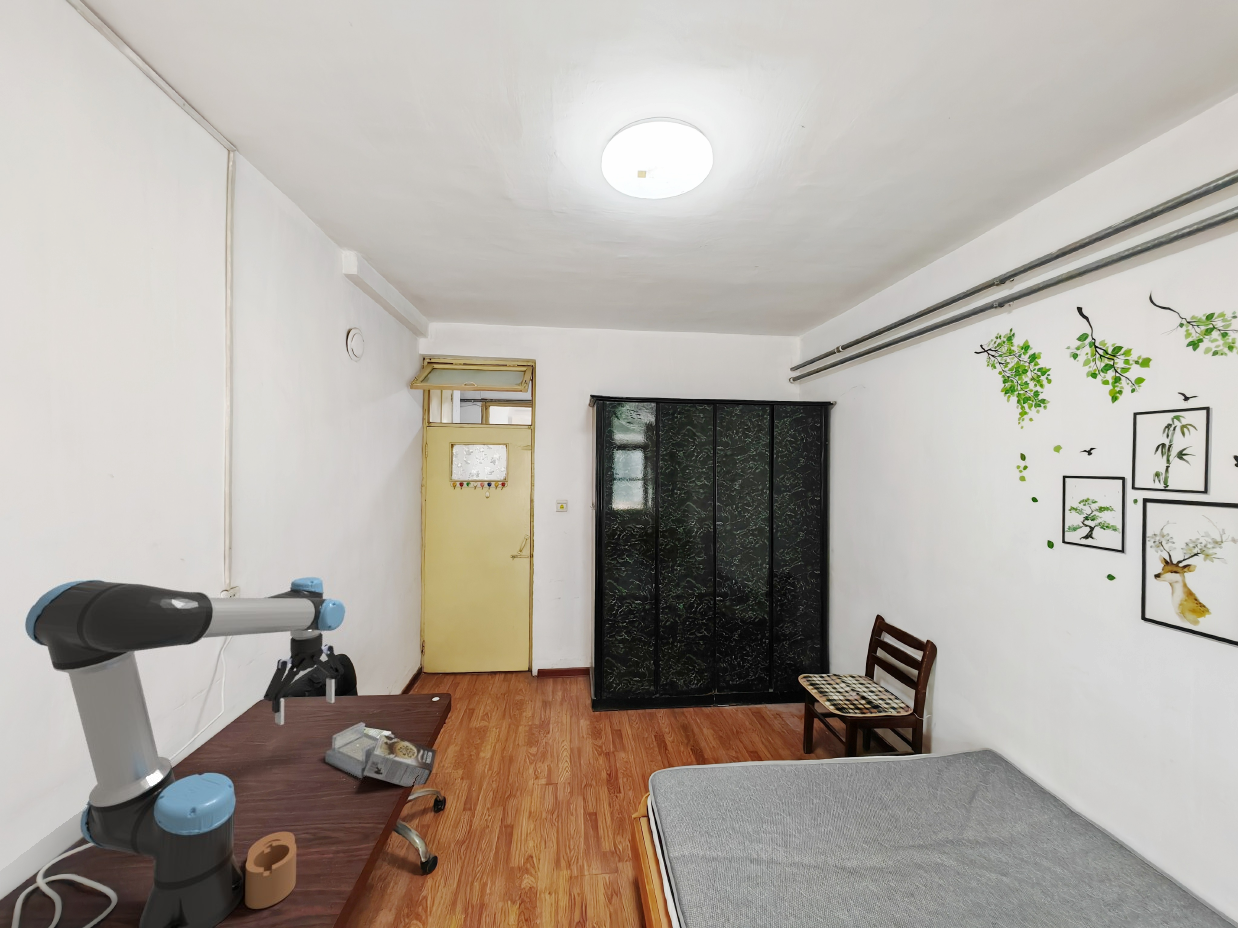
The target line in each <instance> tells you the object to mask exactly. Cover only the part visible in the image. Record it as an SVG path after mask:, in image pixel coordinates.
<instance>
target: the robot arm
mask: <svg viewBox="0 0 1238 928" xmlns="http://www.w3.org/2000/svg"><path fill="white" fill-rule="evenodd" d="M289 589H290V590H287V591H285V592H281V593H277V594H274V595H270V596H265V597H210V596H209V595H208V594H206V593H204V592H201V591H200V592H199V591H198V592H197V591H182V590H176V589H175V590H174V589H169V588H163V587H157V586H151V585H147V584H143V583H142V584H139V583H124V582H110V581H104V580H100V579H88V580H74V581H70V582H69V581H68V582H66V583H62V584H60V585H57V586H55V587H52V588H51V589H50V590H48V591H47V592H45V593H44V594H42V595H41V596H40V597H39V599H38V600H37V601H36V603H35V604H33V605H32V606H31V607H30V609H29V611H28V613H27V615H26V617H25V623H24V624H25V625H24V627H25V632H26V634H27V636H28V637H29V638H30V640H32V641H33V642H35V643H36V644H37V645H40V646H45V647H47V650H48V653H49V657H50V661H51V665H52V667H53V669H54V670H55V671H57V672H63V673H66V674H68V676H69V680H70V684H71V688H72V692H73V695H74V699H75V702H76V706H77V710H78V713H79V717H80V722H81V725H82V729H83V734H84V737H85V741H86V744H87V749H88V753H89V756H90V759H91V760H90V761H91V764H92V767H93V772H94V775H95V778H96V782H97V784H96V785H95V786H94V787H93V789H91V791H90V792H89V794H88V801H87V803H86V806H87V807H86V809H84V810H83V811H82V814H81V817H80V821H79V822H80V824H79V826H80V832H81V834H82V836H83V838H84V839H85V840H86V841H87V842H89V843H90V844H93V845H94V846H97V847H99V848H101V849H106V850H113V851H119V852H124V853H129V854H133V855H138V856H143V857H148V858H152V859H153V885H152V888H151V890H150V892H149V895H148V897H147V901H146V903H145V906H144V909H143V911H142V913H141V915H140V916H141V917H140V919H139V928H214V927H215V926H217V925H218V924H219V923H221V922H222V921H223V920H225V919H226V918H227V917H229V915H230V914H231V913H232V912H233V911H234V910H235V908H236V907H237V906H238V904H240V902H241V899H242V897H243V894H244V885H245V884H244V883H245V882H244V880H245V879H244V876H243V875H244V874H243V872H242V871H241V868H240V866H239V864H238V862H237V860H236V857H235V854H234V838H235V837H234V836H235V815H236V814H235V813H236V812H235V811H236V802H237V801H236V796H235V787H234V784H233V781H232V780H231V779H230V777H228V776H226V775H224V774H221V773H217V772H204V773H202V774H201V775H200V774H198V773H196V774H192V775H188V776H186V777H183V778H180V779H178V780H176V779H175V775H174V771H173V767H172V762H171V761H170V759H169V758H167V757H165V756H159V753H158V750H157V748H158V747H157V744H156V741H155V736H154V731H153V728H152V723H151V718H150V716H149V711H148V705H147V702H146V697H145V694H144V689H143V684H142V680H141V676H140V672H139V667H138V662H137V659H136V655H135V652H139V651H145V650H146V651H147V650H153V649H162V648H168V647H175V646H176V647H177V646H178V647H179V646H188V645H193V644H195V643H198V642H199V641H201V640H202V639H205V638H218V637H219V638H220V637H230V636H231V637H233V636H245V635H259V634H271V633H287V632H290V633H289V634H290V637H291V638H290V643H289V644H290V645H289V646H290V649H289V651H290V657H289V658H287V659H278V660H277V664H276V670H275V672H274V673H273V676H272V678H271V679H270V682H269V684H268V686H267V688H266V691H265V693H264V695H263V697H262V698H263V700H266V701H269V702H271V712H272V713H274V723H276V724H277V725H279V726H282V725H284V724H285V698H283V696H284V695H285V693H286V692H287V690H288V689H289V688H290V686H291V684H292V683H293V681H294V680H295V679H296V678H297V676H299V674H300V673H301V672H305V671H307V670H308V669H309V670H310V669H314V668H315V667H318V668H319V669H320V670H321V671H322V672H324V673H325V675H326V676H328V677H327V678H326V679H325V681H326V683H325V684H326V687H325V691H326V692H325V698H326V699H325V701H326V702H328V703H331V704H333V703H335V690H336V689H337V688H338V680H339V678H340V677H341V675H342V674H344V673H345V669H344V668H343V666H342V664H341V663H340V661H339V659H338V657H337V656H336V654H335V651H334V650H335V649H334V646H333V645H330V644H325V645H324V646H323V641H324V640H323V633H322V632H325V631H326V632H328V631H329V632H333V631H335V630H336V629H337V628H339V627H341V625H342V623H343V621H344V619H345V614H346V606H345V605H344V603H343V602H342V601H341V600H338V599H332V598H324V593H325V592H324V584H323V580H322V579H321V578H319V577H315V576H309V577H307V576H306V577H301V578H296V579H294V580H293V581H291V583H290V588H289ZM323 654H324V655H325V657H326V658H327V660H328V662H329V663H330V665H331V667H332V668H333V669H332V668H331V667H330V666H328V664H326V663H325V662H324V661H323V660H322V659H321V658H322V656H323Z"/></svg>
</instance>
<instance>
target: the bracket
mask: <svg viewBox="0 0 1238 928" xmlns="http://www.w3.org/2000/svg"><path fill="white" fill-rule="evenodd" d="M246 859H247V860H246V863H245V879H244V880H245V882H244V883H245V884H244V885H245V886H244V887H245V889H244V891H245V892H244V893H245V894H244V903H245V905H246V906H247V908H248V909H249V908H250V909H255V910H259V909H260V910H261V909H265V908H269V907H271V906H273V905H276V904H278V903H279V902H281V901H283V900H284V899H285V898H286V897H287V896H289V895H290V893H292V891H293V889H294V888H295V886H296V882H297V844H296V837H295V835H294V833H292V832H290V831H277V832H273V833H270V834H267V835H265V836H264V837H262V838H260V839H259V840H257V841H256V842H255V843H253V844H252V845H251V847H250V848H249V849H248V852H247V858H246Z"/></svg>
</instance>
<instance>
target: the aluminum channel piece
mask: <svg viewBox="0 0 1238 928" xmlns="http://www.w3.org/2000/svg"><path fill="white" fill-rule="evenodd" d="M365 726H366V723H365V722H362V721H361V722H359V723H357V724H354V725H352V726H350V727H348V728H346V729H344V730H342V731H340V732H338V733H336V734H334V735H332V736H331V738H332V740H331V749H329V750H327V751H325V763H327V764H328V765H331V766H333V767H335V768H337V769H340V770H341V771H343V772H346V773H347V772H348V773H347V774H349V773H350V774H349V775H351V774H352V775H351V776H353V775H354V776H353V777H355V776H357V777H359V778H363V777H365V776H366V775H363V774H364V771H365V769H366V766H367V764H368V761H369V759H370V756H371V754H372V751H373V749H374V747H375V745H376V743H377V741H378V739H379V737H376V736H374V735H371V734H369V733H366V732H365ZM386 736H390V737H393V738H395V735H394V734H392V733H388V734H387V735H386ZM357 777H356V778H357ZM366 777H367V776H366ZM366 777H365V778H366ZM359 778H358V779H359ZM363 779H364V778H363Z"/></svg>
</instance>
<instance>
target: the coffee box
mask: <svg viewBox="0 0 1238 928" xmlns="http://www.w3.org/2000/svg"><path fill="white" fill-rule="evenodd" d="M378 738H379V739H378V741H377V743H376V745H375V747H374V749H373V751H372V754H371V756H370V759H369V761H368V764H367V766H366V769H365V771H364V774H363V775H367V776H366V777H371V778H374V779H378V780H380V781H381V780H382V781H385V782H389V783H392V784H395V785H399V786H403V787H414V786H415V787H416V786H423V785H426V784H427V782H428V781H429V779H430V777H431V774H432V773H433V769H434V763H435V760H436V755H437V749H434V748H430V747H426V746H423V745H420V744H416V743H413V742H410V741H406V740H403V739H400V738H397V737H394V738H393V737H390V736H387V735H385V734H384V733H380V735H379V737H378ZM418 775H419V776H418ZM417 776H418V777H417ZM416 777H417V778H416ZM415 778H416V781H415ZM414 781H415V783H414V786H412V785H413V782H414Z"/></svg>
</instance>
